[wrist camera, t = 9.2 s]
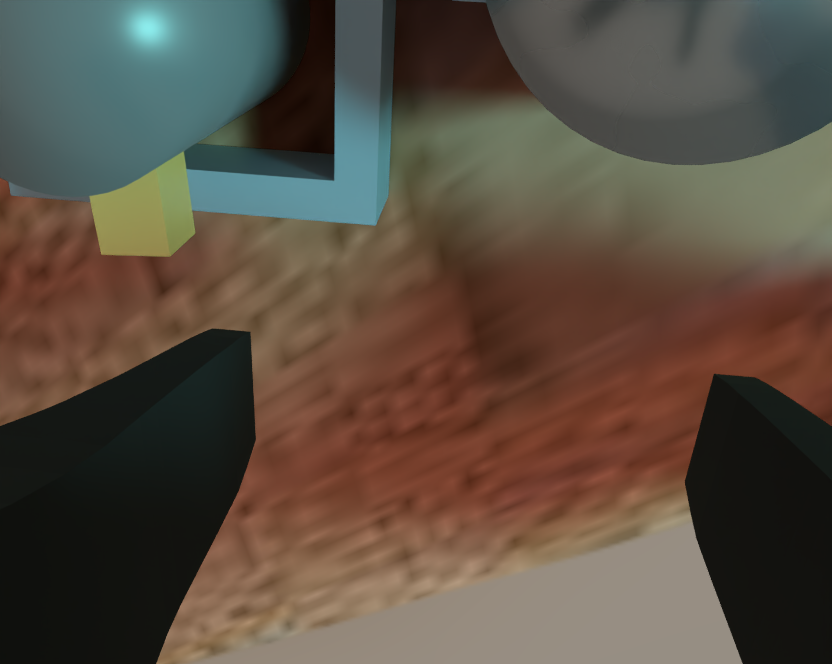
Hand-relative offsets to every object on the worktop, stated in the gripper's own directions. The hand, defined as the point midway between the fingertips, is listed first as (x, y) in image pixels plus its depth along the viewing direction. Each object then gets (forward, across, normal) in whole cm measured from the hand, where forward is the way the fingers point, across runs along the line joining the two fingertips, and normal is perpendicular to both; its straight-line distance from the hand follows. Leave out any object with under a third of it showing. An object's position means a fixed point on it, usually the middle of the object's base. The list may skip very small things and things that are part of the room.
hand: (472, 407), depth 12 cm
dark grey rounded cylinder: (+9, +7, -5) cm, 13 cm away
